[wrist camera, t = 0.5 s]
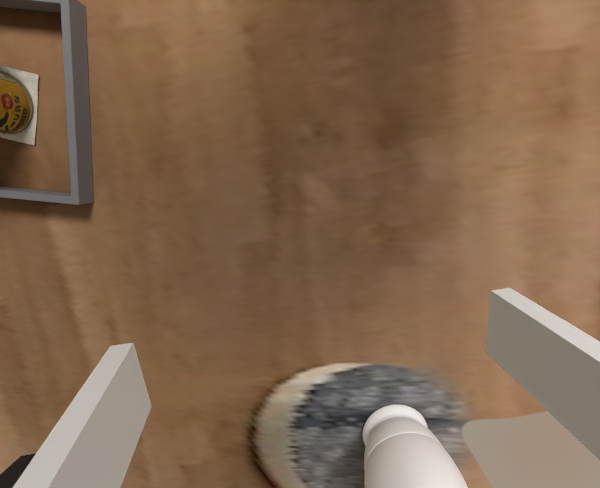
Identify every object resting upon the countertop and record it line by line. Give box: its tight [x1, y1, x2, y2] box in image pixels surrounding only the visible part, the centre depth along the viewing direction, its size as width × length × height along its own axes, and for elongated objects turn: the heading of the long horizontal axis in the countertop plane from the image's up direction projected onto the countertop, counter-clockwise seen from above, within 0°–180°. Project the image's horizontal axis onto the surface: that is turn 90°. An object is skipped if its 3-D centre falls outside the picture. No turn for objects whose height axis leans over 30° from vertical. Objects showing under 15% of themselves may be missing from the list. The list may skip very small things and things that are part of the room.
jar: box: [363, 404, 468, 488], centre depth 37 cm, size 11×10×15 cm
